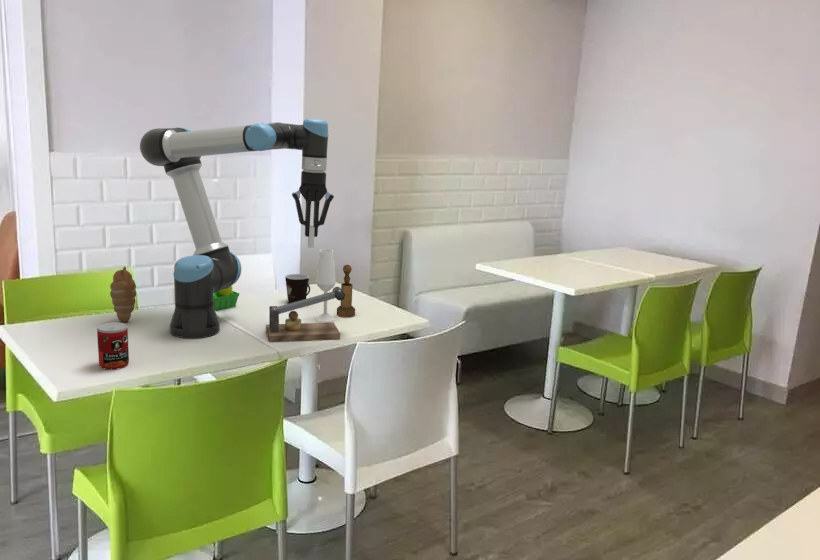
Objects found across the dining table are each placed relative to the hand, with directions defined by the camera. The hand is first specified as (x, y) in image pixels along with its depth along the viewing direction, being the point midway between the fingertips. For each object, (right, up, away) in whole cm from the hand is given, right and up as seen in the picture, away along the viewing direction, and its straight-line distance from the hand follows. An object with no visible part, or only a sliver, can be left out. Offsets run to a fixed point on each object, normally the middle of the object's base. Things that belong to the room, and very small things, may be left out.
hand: (310, 246), depth 228 cm
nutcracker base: (-3, -28, +5) cm, 28 cm away
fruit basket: (-36, -20, +31) cm, 52 cm away
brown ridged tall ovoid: (-62, -24, +9) cm, 67 cm away
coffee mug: (-10, -19, +40) cm, 46 cm away
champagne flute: (+2, -24, +23) cm, 34 cm away
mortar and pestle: (+8, -23, +29) cm, 38 cm away
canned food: (-50, -34, -29) cm, 67 cm away
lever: (-1, -19, +3) cm, 19 cm away
